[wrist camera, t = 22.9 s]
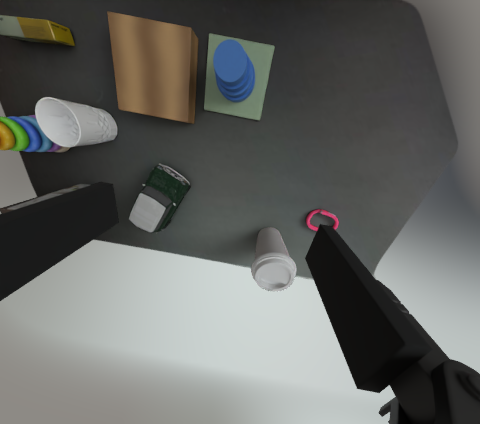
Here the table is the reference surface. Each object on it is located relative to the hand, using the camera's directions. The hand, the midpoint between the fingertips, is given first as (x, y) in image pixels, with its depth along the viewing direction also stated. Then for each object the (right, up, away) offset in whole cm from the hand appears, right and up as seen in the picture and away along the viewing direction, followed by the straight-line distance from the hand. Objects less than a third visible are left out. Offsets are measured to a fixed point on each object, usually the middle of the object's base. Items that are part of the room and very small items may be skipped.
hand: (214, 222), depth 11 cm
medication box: (-36, +35, +22) cm, 55 cm away
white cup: (-30, +21, +28) cm, 46 cm away
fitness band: (+23, -1, +34) cm, 41 cm away
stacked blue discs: (+1, +26, +22) cm, 34 cm away
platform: (-14, +28, +23) cm, 39 cm away
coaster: (+1, +27, +23) cm, 35 cm away
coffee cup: (+10, -6, +37) cm, 39 cm away
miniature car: (-19, +5, +35) cm, 40 cm away
